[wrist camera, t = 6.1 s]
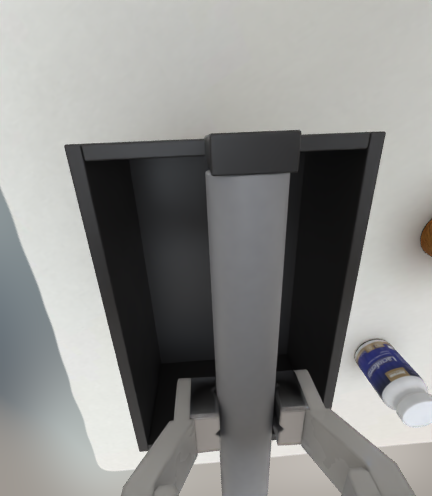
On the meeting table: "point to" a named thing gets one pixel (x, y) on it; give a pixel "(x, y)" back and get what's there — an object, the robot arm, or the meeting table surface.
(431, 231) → the disposable coffee cup
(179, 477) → the robot arm
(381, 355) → the pill bottle
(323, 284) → the black bin
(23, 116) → the meeting table surface
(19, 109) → the meeting table surface
